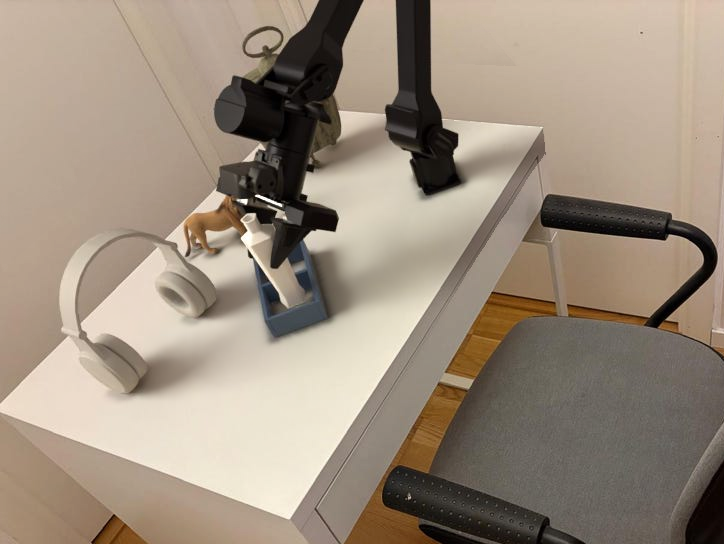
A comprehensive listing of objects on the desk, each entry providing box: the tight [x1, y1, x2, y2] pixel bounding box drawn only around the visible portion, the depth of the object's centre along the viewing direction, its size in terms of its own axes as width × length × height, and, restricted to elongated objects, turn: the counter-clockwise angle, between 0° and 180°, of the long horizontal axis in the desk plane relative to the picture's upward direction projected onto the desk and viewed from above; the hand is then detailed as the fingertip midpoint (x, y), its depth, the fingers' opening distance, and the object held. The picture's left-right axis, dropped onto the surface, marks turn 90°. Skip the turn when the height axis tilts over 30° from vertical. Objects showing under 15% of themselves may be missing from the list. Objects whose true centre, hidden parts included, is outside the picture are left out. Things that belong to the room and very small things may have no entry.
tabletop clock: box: [241, 25, 342, 170], centre depth 126 cm, size 14×9×25 cm, turn 120°
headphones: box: [58, 227, 218, 394], centre depth 103 cm, size 20×8×19 cm, turn 152°
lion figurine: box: [183, 195, 246, 258], centre depth 121 cm, size 15×5×9 cm, turn 116°
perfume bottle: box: [240, 213, 306, 309], centre depth 103 cm, size 5×4×15 cm
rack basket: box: [252, 239, 329, 339], centre depth 111 cm, size 8×16×4 cm, turn 18°
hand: (262, 263), depth 101 cm, fingers closed on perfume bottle, 4 cm apart
